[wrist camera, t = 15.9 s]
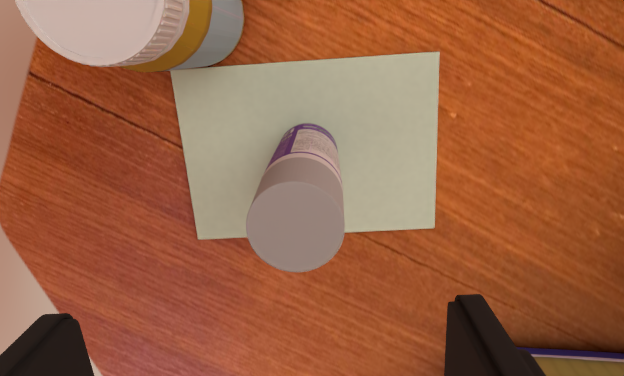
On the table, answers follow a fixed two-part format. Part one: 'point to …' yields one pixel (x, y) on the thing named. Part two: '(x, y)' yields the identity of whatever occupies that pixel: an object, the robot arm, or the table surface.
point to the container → (299, 202)
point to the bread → (578, 362)
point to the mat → (322, 111)
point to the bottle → (138, 31)
